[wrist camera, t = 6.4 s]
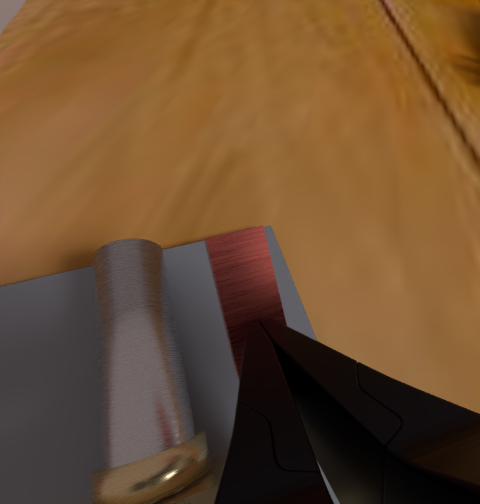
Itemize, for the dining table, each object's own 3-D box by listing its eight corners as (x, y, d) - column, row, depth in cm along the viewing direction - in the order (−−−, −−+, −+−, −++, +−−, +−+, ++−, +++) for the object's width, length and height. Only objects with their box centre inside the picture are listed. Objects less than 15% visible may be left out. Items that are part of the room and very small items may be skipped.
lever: (347, 573, 9) (264, 224, 9) (271, 608, 8) (184, 242, 8) (320, 516, 11) (252, 231, 11) (257, 543, 10) (186, 246, 10)
